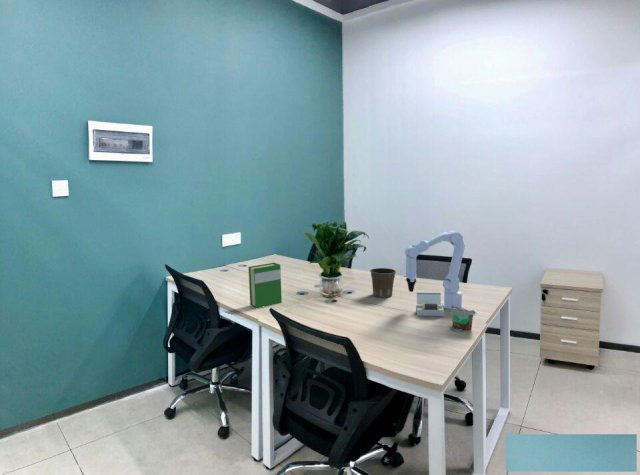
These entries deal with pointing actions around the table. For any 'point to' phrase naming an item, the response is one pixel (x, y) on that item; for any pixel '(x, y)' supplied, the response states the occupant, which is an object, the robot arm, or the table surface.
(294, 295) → the table surface
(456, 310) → the food container
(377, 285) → the plant pot
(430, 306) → the banded gray rod
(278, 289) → the hardback book
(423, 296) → the cover
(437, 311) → the grey slotted block
